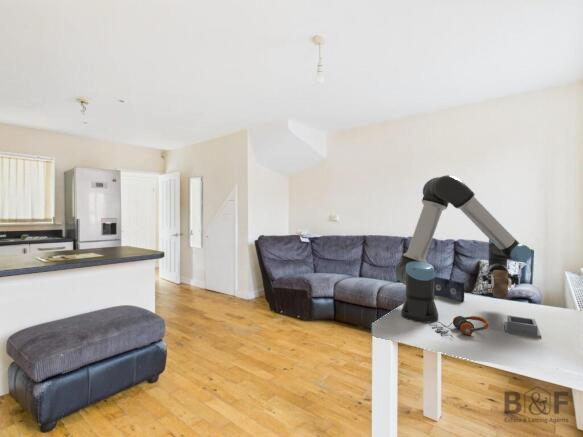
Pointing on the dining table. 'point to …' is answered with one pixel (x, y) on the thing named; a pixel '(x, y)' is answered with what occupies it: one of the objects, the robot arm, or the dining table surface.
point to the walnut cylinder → (500, 283)
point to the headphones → (464, 325)
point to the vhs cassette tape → (449, 289)
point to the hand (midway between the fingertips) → (501, 283)
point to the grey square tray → (522, 326)
